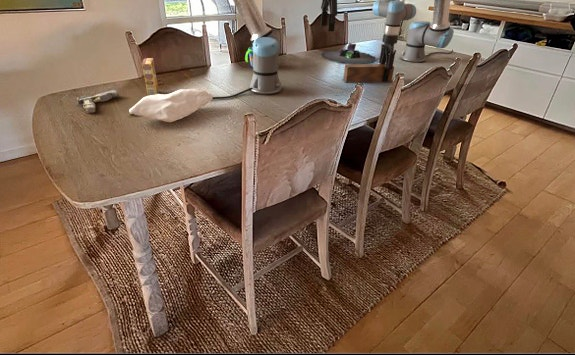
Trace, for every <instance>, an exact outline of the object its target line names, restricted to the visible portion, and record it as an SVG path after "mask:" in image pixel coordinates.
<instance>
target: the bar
mask: <svg viewBox="0 0 575 355" xmlns="http://www.w3.org/2000/svg"><path fill="white" fill-rule="evenodd" d="M384 68H386V63H385V64H380V63H356V64H355V63H348V64H344V71H343V78H342V80H343V81H344V83H347V84H349V83H351V84H353V83H355V84H356V83H384V82H383V81H382V80H383V74H384ZM394 72H395V65H393V68H392V69H390V71H389V77H388V81H386V82H385V83H391V82H392V81H393V77H394Z"/></svg>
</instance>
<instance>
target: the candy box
mask: <svg viewBox="0 0 575 355" xmlns="http://www.w3.org/2000/svg"><path fill="white" fill-rule="evenodd" d="M141 66H142V73H143V78H144V82H145V87H146V92H147V96H150V95H156V94H159V91H160V90H159V84H158V79H157V73H156V66H155V62H154V58H153V57H151V58H150V57H149V58H146V57H145V58H143V60H142V63H141Z"/></svg>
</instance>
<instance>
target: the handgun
mask: <svg viewBox="0 0 575 355" xmlns="http://www.w3.org/2000/svg"><path fill="white" fill-rule="evenodd" d="M119 96H120V94H119V92H118V91H117V90H116V89H112V90H108V91H105V92H104V91H103V92H101V93H96V94H94V95H86V94H85V95H84V94H83V95H81V96H80V97H77V98H76V101H77V104H78V105H82V108H83V109H84V110H85V113H87V114H91V113H95V112H96V104H95V103H98V102H106V101H109V100H111V99H113V98H117V97H119Z"/></svg>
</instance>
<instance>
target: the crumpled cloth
mask: <svg viewBox="0 0 575 355" xmlns="http://www.w3.org/2000/svg"><path fill="white" fill-rule="evenodd" d="M213 97H214V96H213V94H212V93H210V92H208V91H206V90H203V89H201V88H187V89H186V88H185V89H184V88H183V89H177V90H175V91H173V92H171V93H167V94H163V93H158V94H156V95H150V96H148V95H146V96H144V97H142V98H141V99H140V100H139V101H138V102H137V103H136V104H134V105H133V106H132V107H131V108H129V115H130V114H134V115H133V116H140V117H145V118H146V119H149V120H152V121H155V120H158V121H163V122H166V123H174V122H176V121H178V120H181V119H183V118H185V117H188V116H190V115H192V114H193V113H195V112H196V111H197V110H199V109H200V108H202V107H204V106H206V105H207V104H210V102H211V101H212V100H213V99H212V98H213Z"/></svg>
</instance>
